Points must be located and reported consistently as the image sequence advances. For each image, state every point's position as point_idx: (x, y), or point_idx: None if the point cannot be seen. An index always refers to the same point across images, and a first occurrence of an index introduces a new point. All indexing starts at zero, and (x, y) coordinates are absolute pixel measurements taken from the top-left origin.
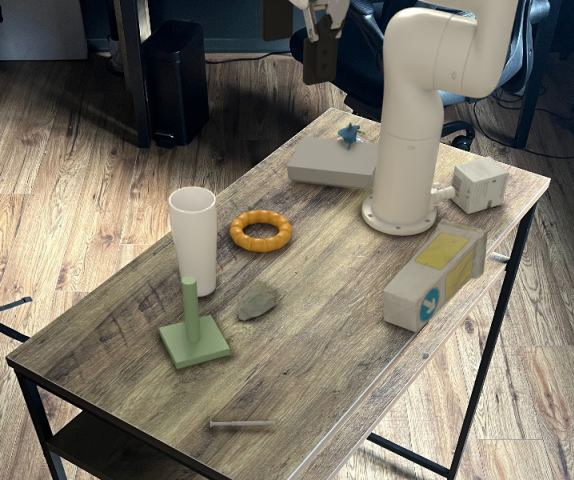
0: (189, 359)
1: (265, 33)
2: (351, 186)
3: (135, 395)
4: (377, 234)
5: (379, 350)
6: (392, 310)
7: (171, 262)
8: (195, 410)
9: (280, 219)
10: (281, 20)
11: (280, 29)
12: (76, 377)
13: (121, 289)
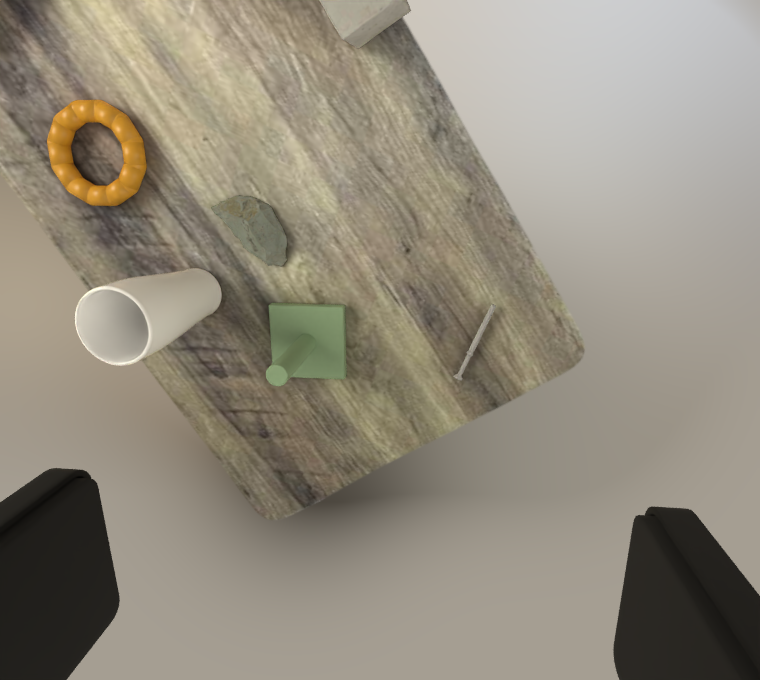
0: (344, 362)
1: (94, 643)
2: None
3: (371, 433)
4: None
5: (417, 91)
6: (368, 34)
7: None
8: (423, 381)
9: (80, 113)
10: (31, 607)
11: (73, 573)
12: (318, 479)
13: (177, 385)
